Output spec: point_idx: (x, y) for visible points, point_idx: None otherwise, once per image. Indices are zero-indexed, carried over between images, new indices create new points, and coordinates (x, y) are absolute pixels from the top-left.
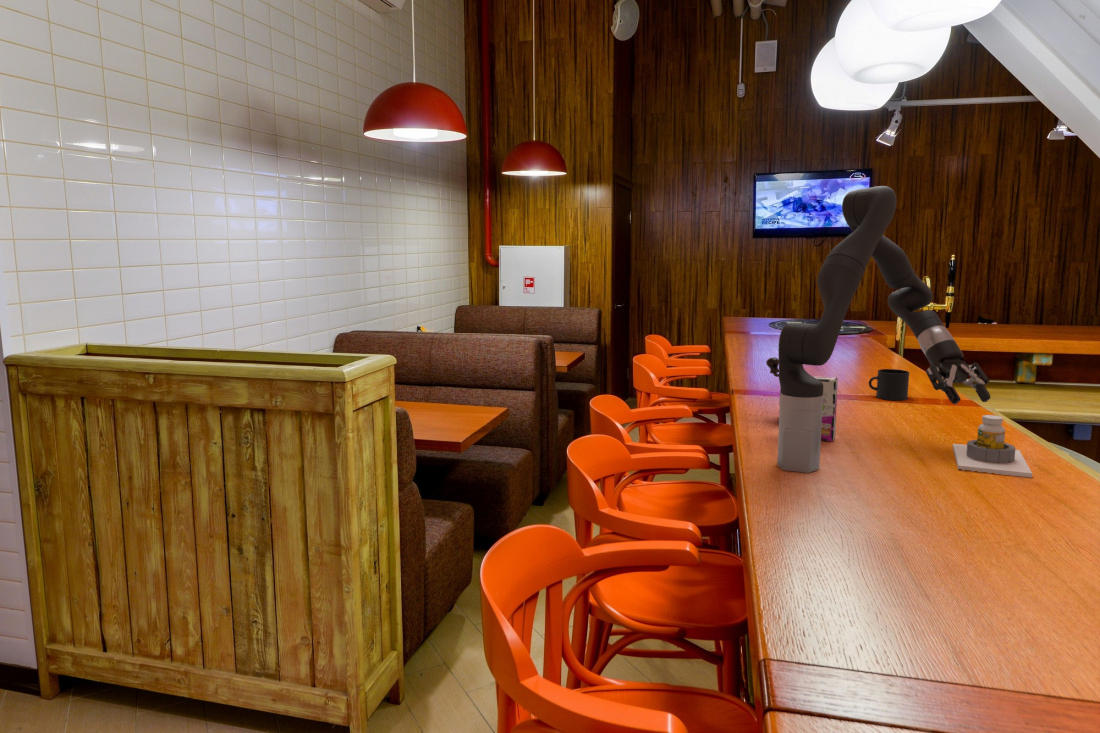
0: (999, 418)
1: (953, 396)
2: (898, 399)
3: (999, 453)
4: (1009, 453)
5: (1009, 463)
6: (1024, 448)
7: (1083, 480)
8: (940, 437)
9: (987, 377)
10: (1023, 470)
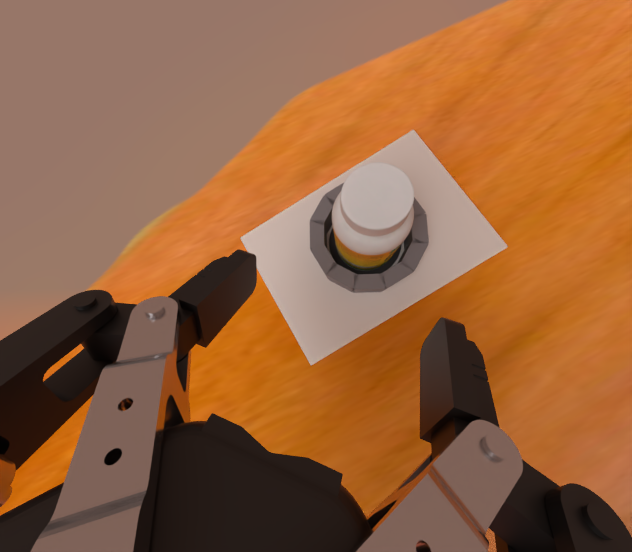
0: (381, 166)
1: (476, 357)
2: None
3: None
4: None
5: None
6: (186, 256)
7: (340, 84)
8: None
9: (44, 314)
10: (407, 148)
